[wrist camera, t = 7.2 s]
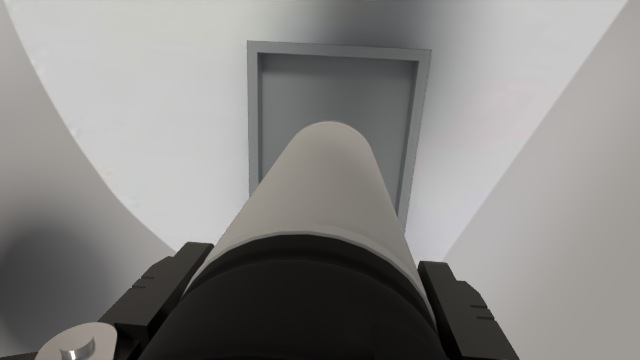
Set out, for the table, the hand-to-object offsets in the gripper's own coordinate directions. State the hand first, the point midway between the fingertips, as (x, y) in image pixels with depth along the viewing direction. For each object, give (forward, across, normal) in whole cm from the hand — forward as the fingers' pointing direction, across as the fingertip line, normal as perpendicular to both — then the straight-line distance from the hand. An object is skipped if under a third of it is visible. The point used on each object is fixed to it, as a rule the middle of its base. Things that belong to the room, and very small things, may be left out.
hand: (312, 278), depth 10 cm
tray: (+21, 0, 0) cm, 21 cm away
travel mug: (+14, 0, 0) cm, 14 cm away
